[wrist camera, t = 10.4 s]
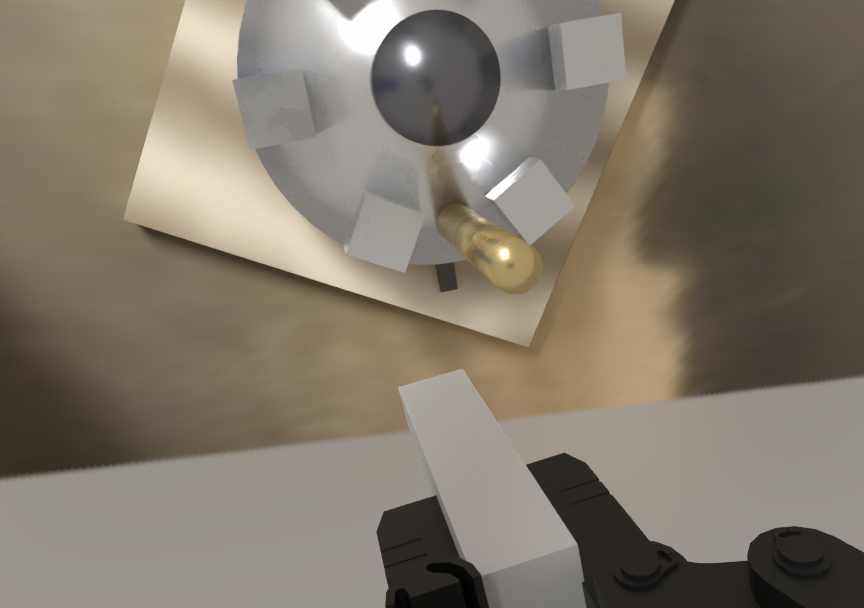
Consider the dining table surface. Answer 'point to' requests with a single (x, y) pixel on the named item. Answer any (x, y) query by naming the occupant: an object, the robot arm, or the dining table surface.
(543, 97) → the metal lathe chuck
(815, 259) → the dining table surface
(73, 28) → the dining table surface
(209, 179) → the birch base board
